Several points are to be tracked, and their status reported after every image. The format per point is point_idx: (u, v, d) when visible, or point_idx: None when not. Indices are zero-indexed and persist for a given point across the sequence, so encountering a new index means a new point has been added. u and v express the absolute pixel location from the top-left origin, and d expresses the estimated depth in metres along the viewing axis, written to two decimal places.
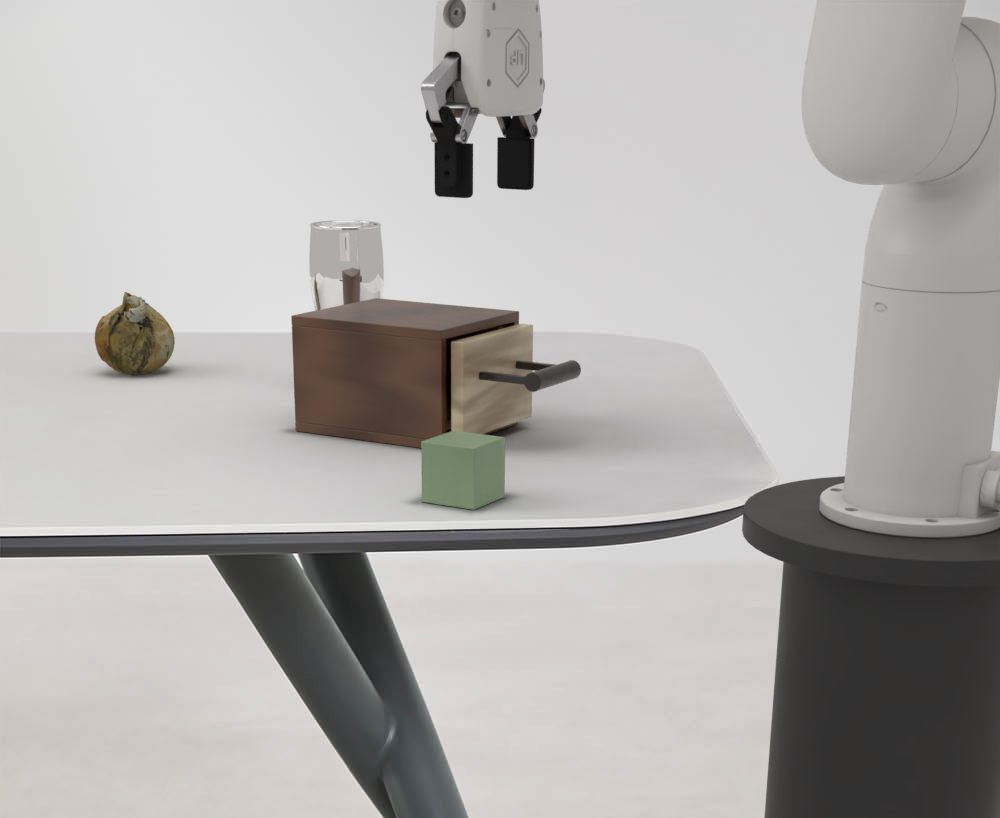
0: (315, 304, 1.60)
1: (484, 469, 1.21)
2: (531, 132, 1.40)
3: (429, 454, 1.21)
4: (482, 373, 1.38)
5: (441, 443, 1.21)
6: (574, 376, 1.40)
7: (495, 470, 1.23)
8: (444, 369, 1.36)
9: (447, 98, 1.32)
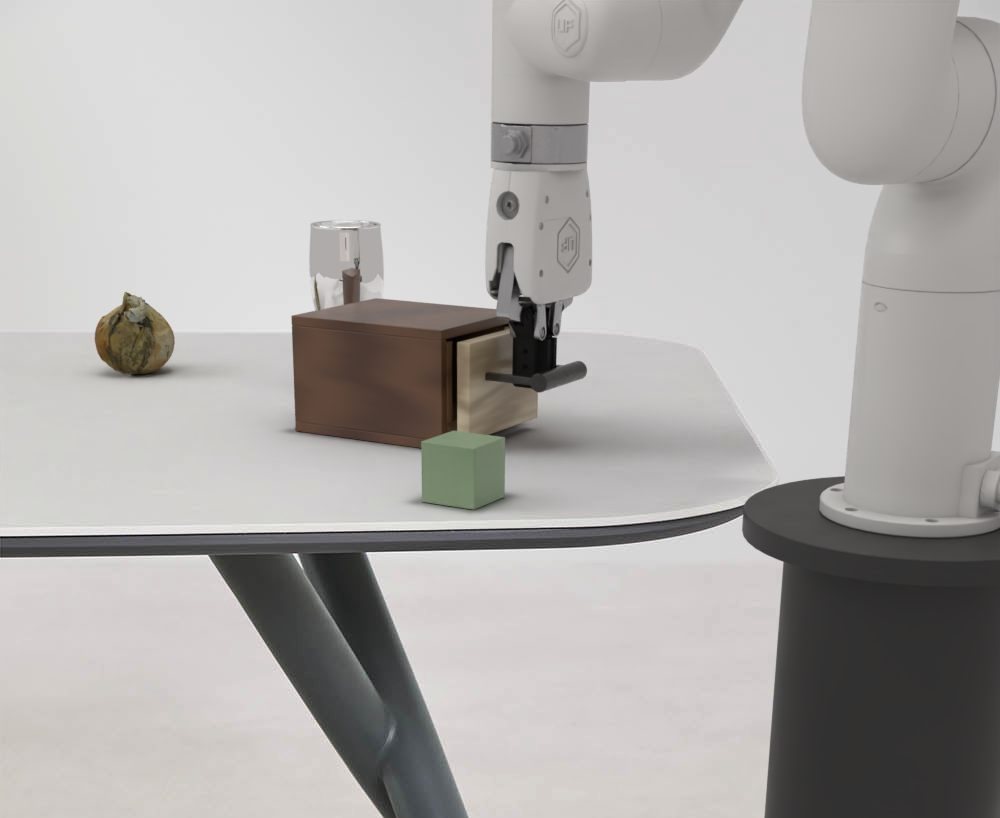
0: (315, 304, 1.60)
1: (484, 469, 1.21)
2: (554, 331, 1.38)
3: (429, 454, 1.21)
4: (488, 374, 1.37)
5: (441, 443, 1.21)
6: (580, 377, 1.40)
7: (495, 470, 1.23)
8: (444, 369, 1.36)
9: None
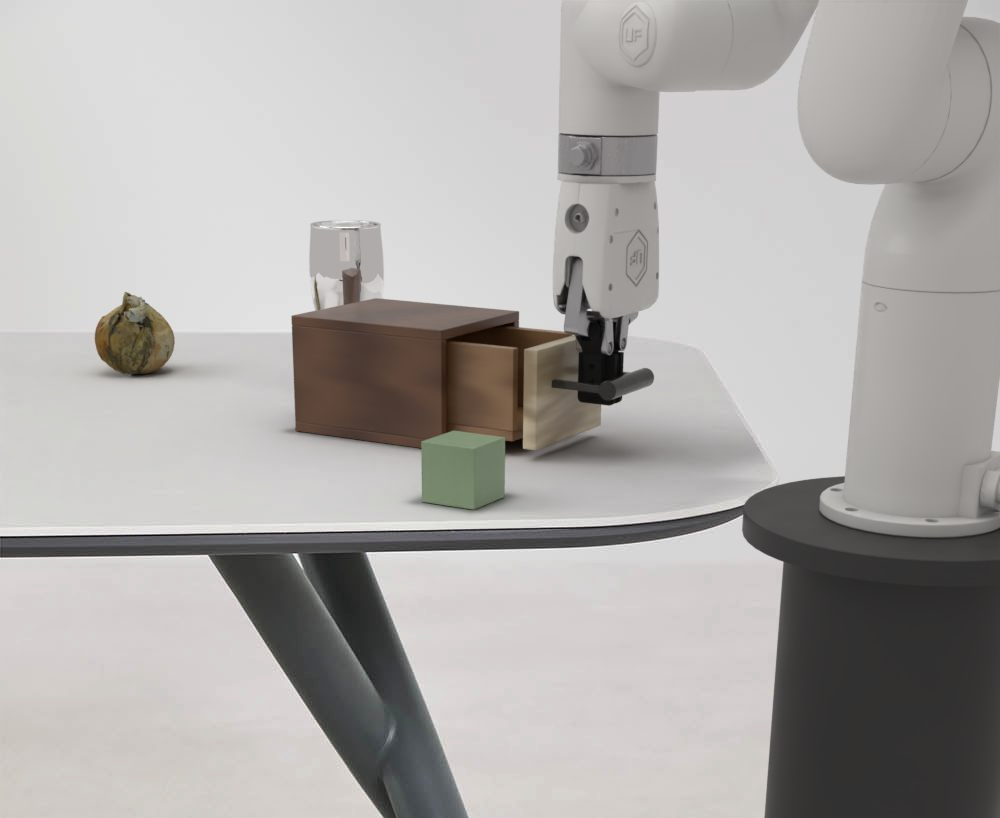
0: (315, 304, 1.60)
1: (484, 469, 1.21)
2: (620, 346, 1.35)
3: (429, 454, 1.21)
4: (555, 381, 1.35)
5: (441, 443, 1.21)
6: (647, 384, 1.37)
7: (495, 470, 1.23)
8: (444, 369, 1.36)
9: None
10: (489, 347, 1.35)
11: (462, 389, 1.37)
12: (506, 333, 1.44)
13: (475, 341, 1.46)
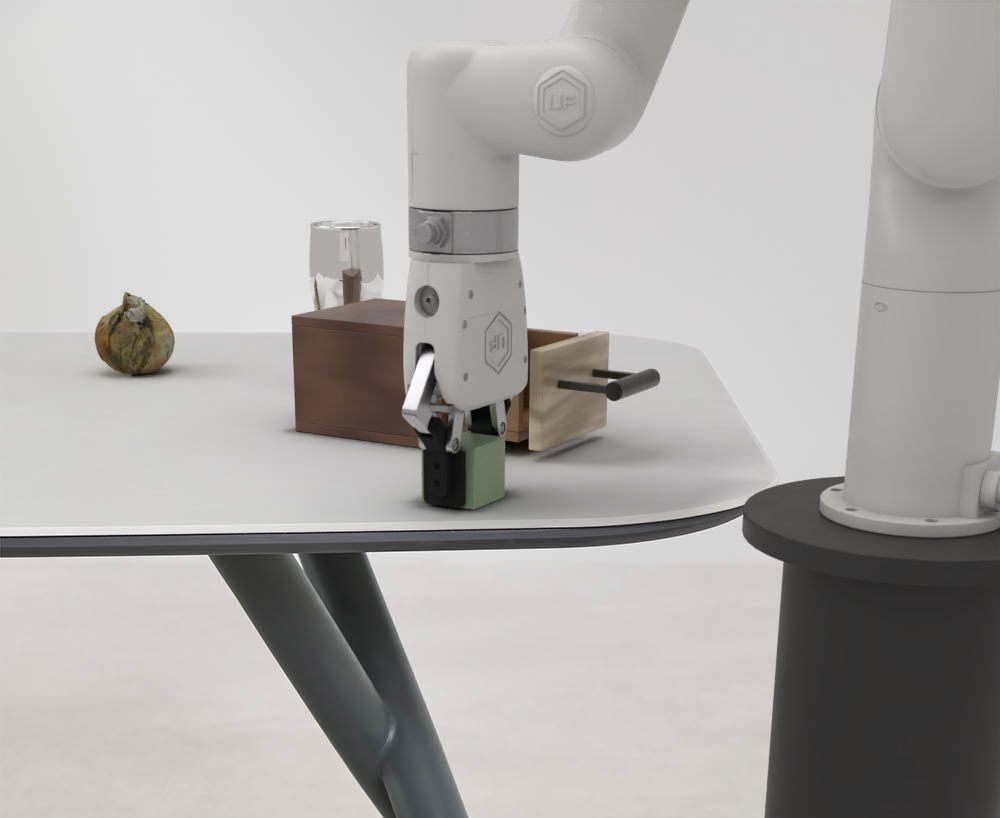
0: (315, 304, 1.60)
1: (484, 469, 1.21)
2: (499, 431, 1.24)
3: None
4: (561, 382, 1.34)
5: None
6: (653, 385, 1.37)
7: (495, 470, 1.23)
8: None
9: None
10: None
11: None
12: None
13: None
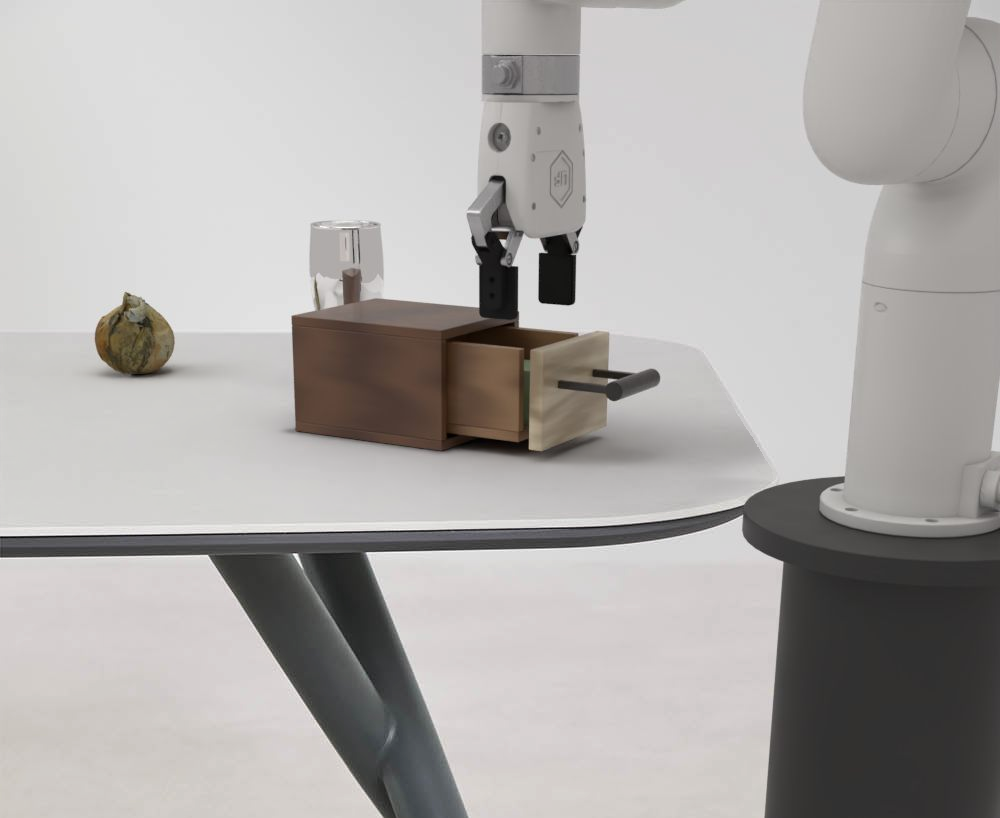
0: (315, 304, 1.60)
1: None
2: (573, 248, 1.39)
3: None
4: (561, 382, 1.34)
5: None
6: (654, 385, 1.37)
7: None
8: (444, 369, 1.36)
9: (491, 220, 1.32)
10: (495, 348, 1.34)
11: (467, 390, 1.37)
12: (512, 334, 1.44)
13: (481, 342, 1.45)
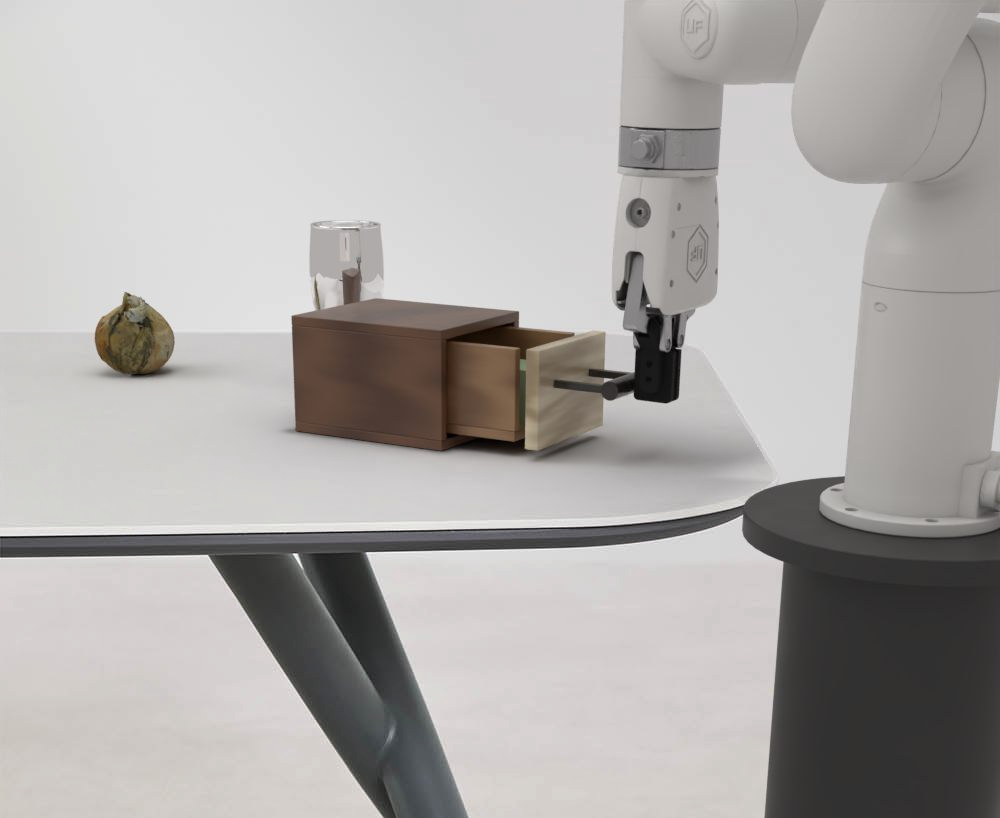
0: (315, 304, 1.60)
1: None
2: (678, 343, 1.33)
3: None
4: (557, 381, 1.35)
5: None
6: None
7: None
8: (444, 369, 1.36)
9: None
10: (491, 347, 1.35)
11: (464, 390, 1.37)
12: (508, 333, 1.44)
13: (477, 341, 1.45)
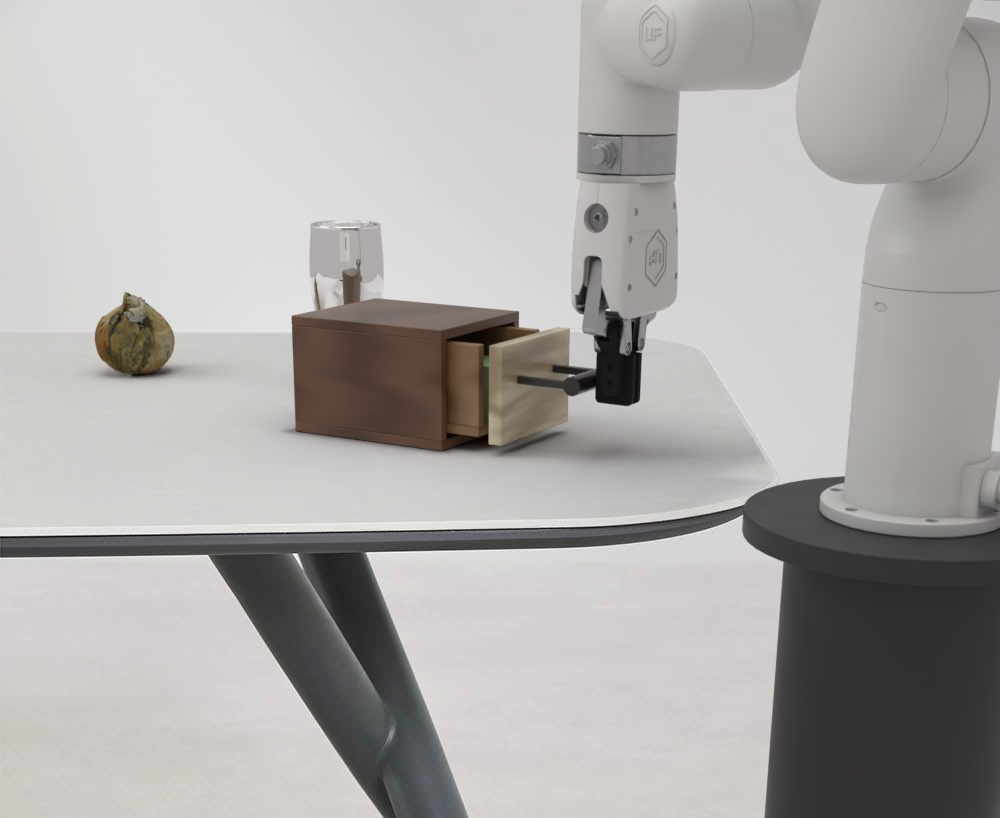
0: (315, 304, 1.60)
1: None
2: (639, 346, 1.34)
3: None
4: (520, 377, 1.36)
5: None
6: None
7: None
8: (444, 369, 1.36)
9: None
10: (455, 344, 1.36)
11: None
12: None
13: None
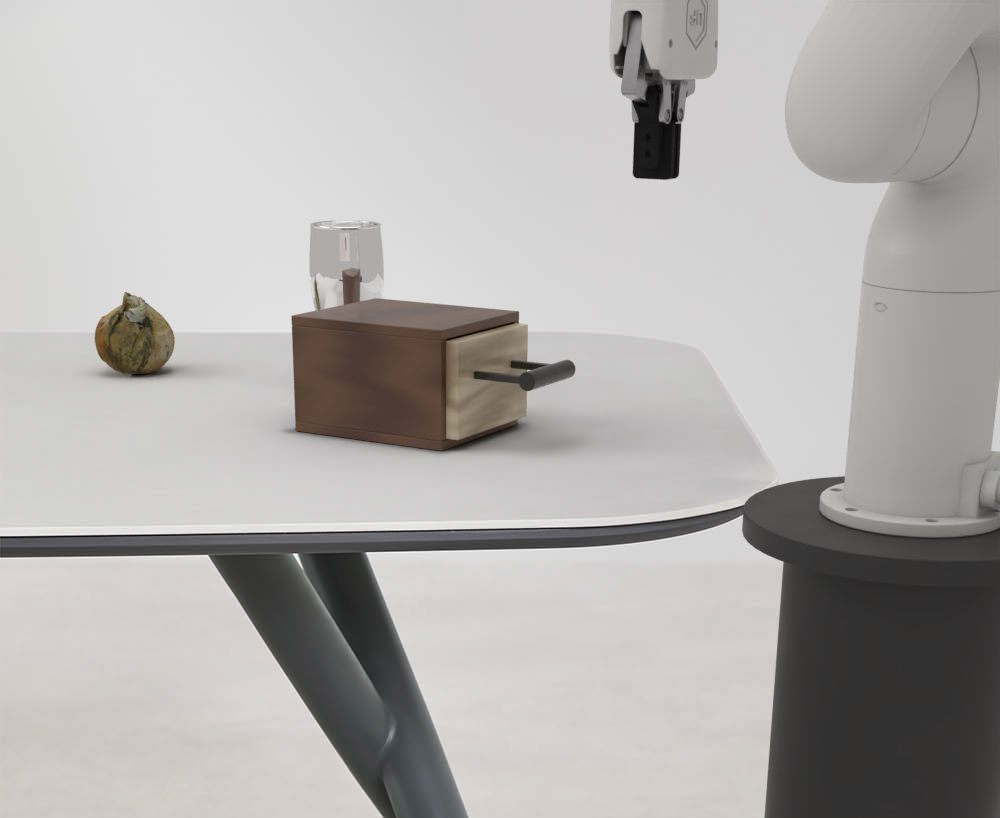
0: (315, 304, 1.60)
1: None
2: (678, 117, 1.30)
3: None
4: (477, 372, 1.38)
5: None
6: (569, 375, 1.40)
7: None
8: (444, 369, 1.36)
9: None
10: None
11: None
12: None
13: None
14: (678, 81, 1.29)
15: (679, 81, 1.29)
